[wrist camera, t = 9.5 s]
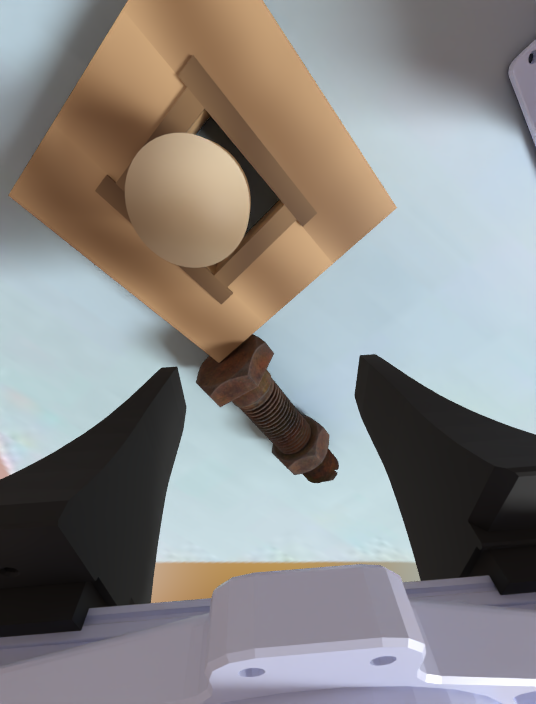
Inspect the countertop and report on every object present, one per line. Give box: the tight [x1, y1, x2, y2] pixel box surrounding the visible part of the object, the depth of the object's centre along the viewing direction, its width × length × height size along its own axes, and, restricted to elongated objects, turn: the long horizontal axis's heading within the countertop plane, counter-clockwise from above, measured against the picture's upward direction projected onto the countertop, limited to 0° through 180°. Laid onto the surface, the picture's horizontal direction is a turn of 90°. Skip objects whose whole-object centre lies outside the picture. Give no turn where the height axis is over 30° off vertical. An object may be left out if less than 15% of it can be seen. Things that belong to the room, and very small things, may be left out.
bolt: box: [196, 334, 339, 483], centre depth 25 cm, size 6×5×15 cm
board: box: [8, 0, 397, 363], centre depth 17 cm, size 14×14×3 cm
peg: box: [125, 133, 251, 268], centre depth 15 cm, size 4×4×8 cm
